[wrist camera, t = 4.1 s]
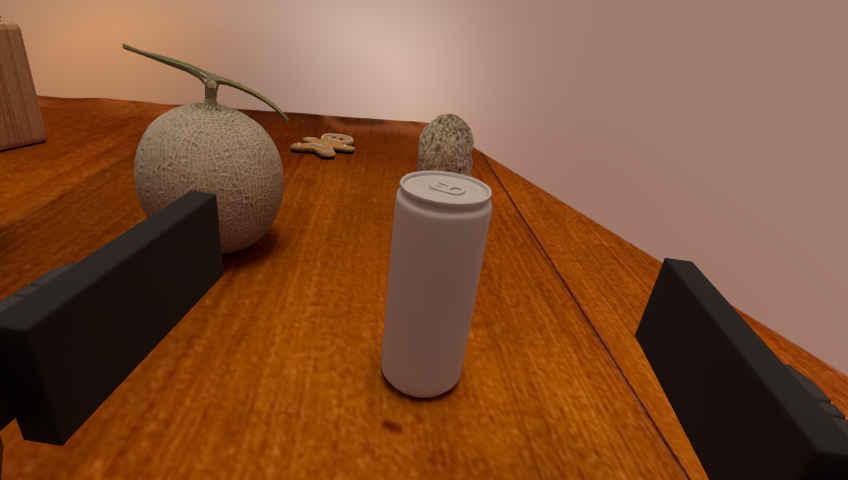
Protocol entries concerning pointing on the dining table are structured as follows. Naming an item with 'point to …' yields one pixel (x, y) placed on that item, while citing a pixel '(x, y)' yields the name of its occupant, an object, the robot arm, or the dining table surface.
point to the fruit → (212, 161)
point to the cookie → (325, 145)
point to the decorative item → (17, 92)
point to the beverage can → (433, 279)
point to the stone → (446, 146)
